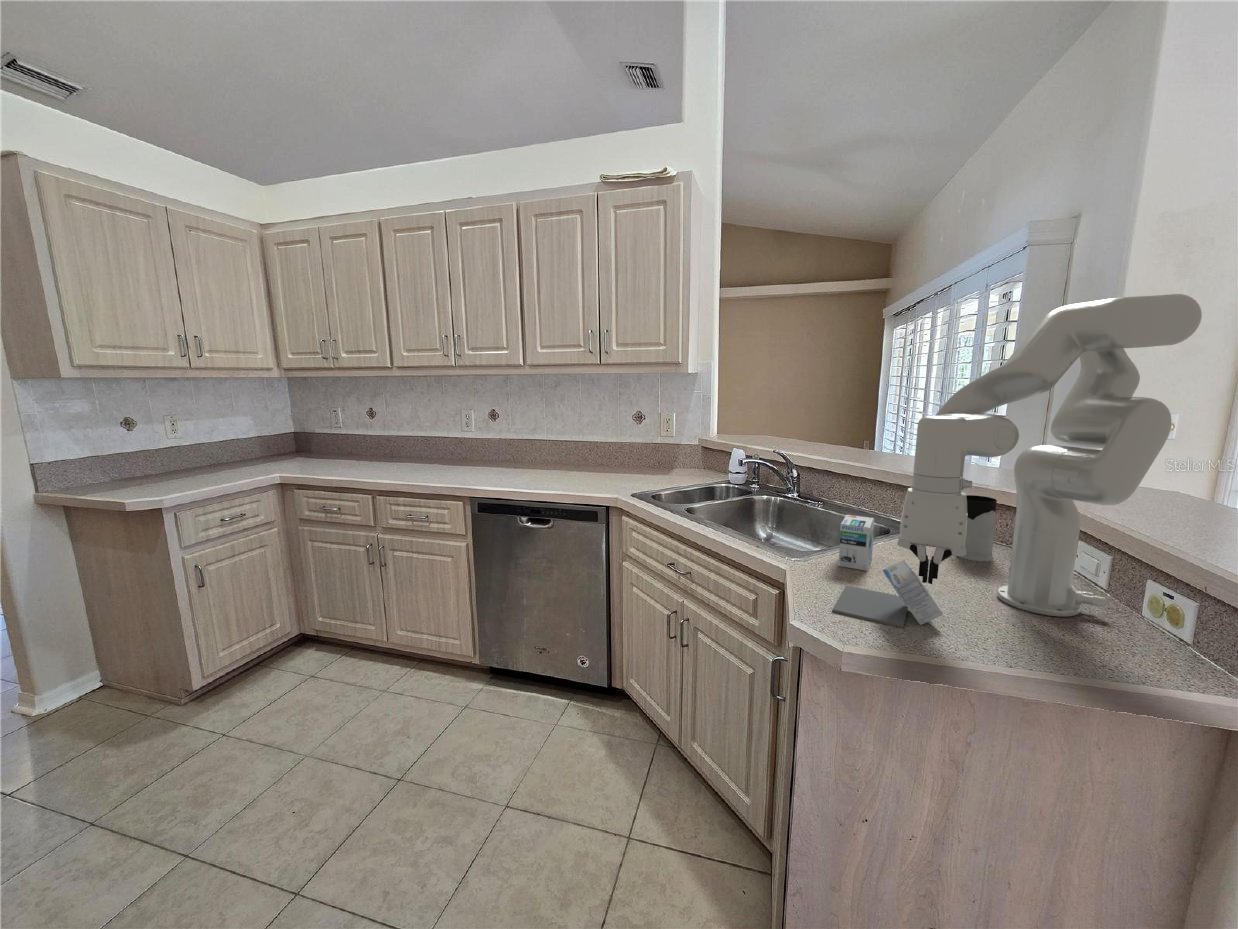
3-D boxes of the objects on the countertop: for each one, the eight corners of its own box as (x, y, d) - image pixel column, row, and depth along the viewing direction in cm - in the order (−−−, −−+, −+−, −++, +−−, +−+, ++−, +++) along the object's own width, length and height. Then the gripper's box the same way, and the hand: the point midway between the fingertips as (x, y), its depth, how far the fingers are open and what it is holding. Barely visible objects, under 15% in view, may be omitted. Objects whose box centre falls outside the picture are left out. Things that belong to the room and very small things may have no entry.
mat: (909, 600, 100) (909, 598, 99) (903, 628, 88) (903, 625, 88) (845, 587, 106) (846, 585, 106) (832, 611, 95) (832, 609, 95)
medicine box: (944, 615, 88) (919, 577, 87) (920, 626, 89) (895, 588, 88) (926, 594, 95) (903, 558, 94) (904, 604, 96) (881, 569, 96)
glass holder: (974, 563, 120) (980, 503, 118) (926, 545, 134) (930, 491, 131) (1002, 559, 122) (1009, 501, 120) (952, 542, 136) (957, 489, 133)
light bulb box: (868, 571, 115) (871, 527, 114) (837, 566, 119) (839, 523, 117) (872, 558, 124) (875, 517, 123) (843, 554, 128) (846, 514, 126)
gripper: (987, 485, 87) (976, 583, 90) (891, 477, 95) (884, 567, 98) (989, 492, 81) (977, 597, 84) (887, 483, 89) (879, 579, 92)
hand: (927, 580), depth 91 cm, fingers closed
